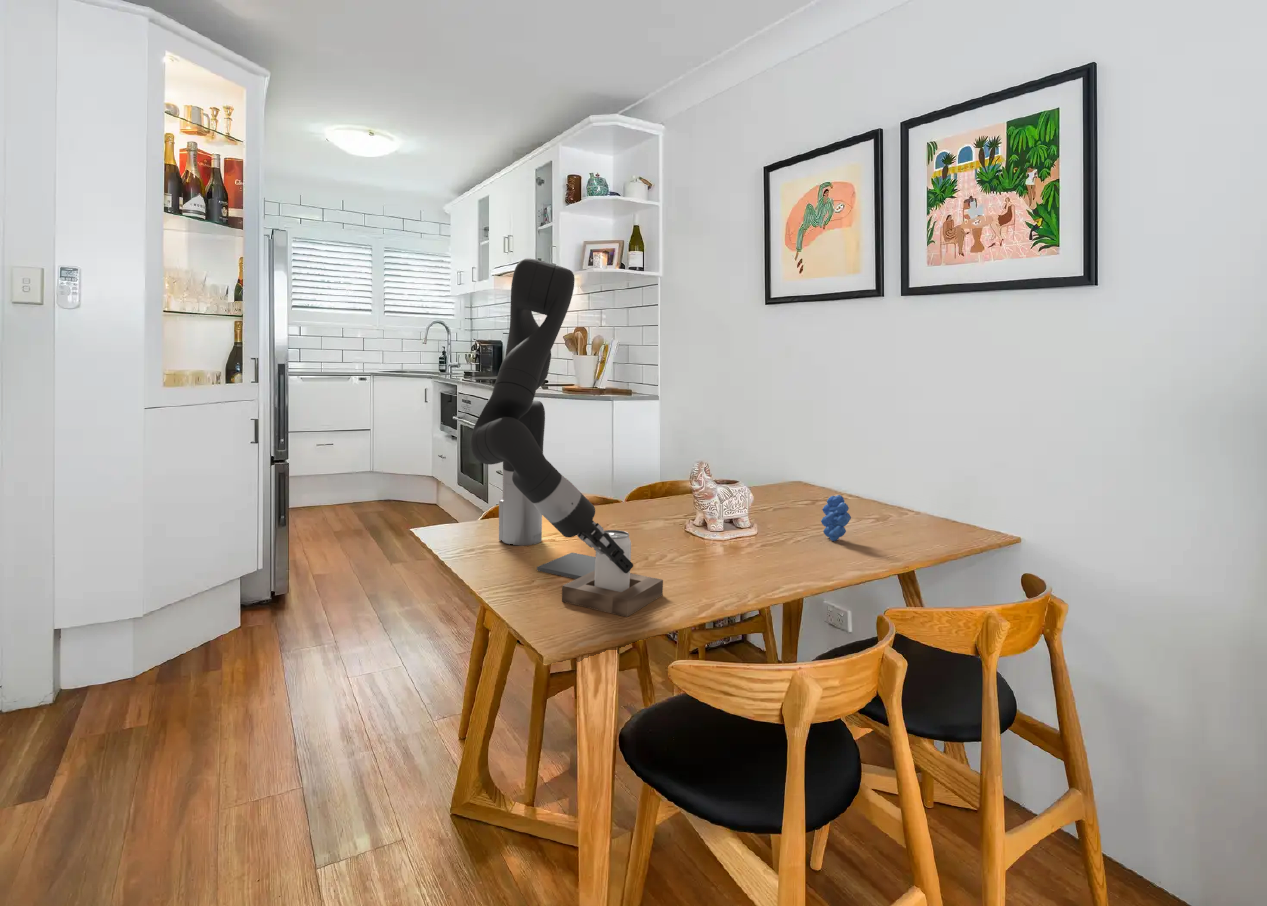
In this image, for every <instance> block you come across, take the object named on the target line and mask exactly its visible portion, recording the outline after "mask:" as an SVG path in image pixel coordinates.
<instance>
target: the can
mask: <svg viewBox="0 0 1267 906" xmlns="http://www.w3.org/2000/svg"><path fill="white" fill-rule="evenodd" d="M604 531H605V532H606V533H608V534H609V536H610V537H611V538H612V539H613V540H614V542H615V543H616V544H617V545H618V546H619V547H620V548H621V549H623V550H624V552H625V553H624V555H625V556H626V557H627V558H628V559H629V560H630V561H631V557H632V556H631V555H632V541H631V539H630V532H627V531H624V530H618V529H607V530H606V529H605V530H604ZM599 549H601V548H600V547H599ZM614 551H615V549H614V550H613V551H612V553H613V552H614ZM612 553H611V554H612ZM595 557H596V559H595V587H600V588H604V589H609V590H613V591H618V592H623V591H624V590H626V589H628V588H629V584H630V573H631V570H630V571H629V572H628V573H624V572H623V571H622V570H621V569H620V568H619V567H618V566H617V565H616V564H615V563H614V562H612V561H610V560H609V558H608V557H607V556H606V555H605V554H599V553H598V552H597V551H595ZM631 562H632V561H631Z"/></svg>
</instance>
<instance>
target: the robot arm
mask: <svg viewBox="0 0 1267 906" xmlns="http://www.w3.org/2000/svg"><path fill="white" fill-rule="evenodd" d="M575 280H576V279H575V274H574V272H573V271H572V270H570V269H569V268H566V267H563V266H561V265H556V264H553V263H549V262H546V261H543V260H538V259H535V258H529V257H524V258H522V259H520V260H519V261H518V262H517V264H516V266H515V268H514V271H513V275H512V279H511V287H510V309H509V311H510V315H509V316H510V317H509V330H508V338H507V344H506V347H505V348H506V350H505V357H504V358H503V361H502V362H501V365H500V367H499V370H498V373H497V376H496V380H495V382H494V384H493V390H492V393H491V396H490V398H489V399H488V401H487V402H486V404H485V405H484V408H483V409H482V411H481V413H480V415H479V417H478V418H477V420H476V422H475V424H474V426H473V428H472V432H471V436H470V449H471V452H472V454H473V456H474V458H475V459H476V460H477V461H478V462H480V463H481V464H484V465H498V464H500V463H502V499H500V500H499V501H498V540H499V541H501V540H502V542H503V543H504V544H507V545H510V544H513V545H512V546H532V544H533V545H537V544H539V543H542V540H543V537H542V536H543V533H542V532H543V517H544V518H545V519H546V520H547V521H548V522H549V523H550V524H551V525H552V526H553V527H554V528H555V530H557V531H558V532H559V533H560V534H562V536H563V537H565V538H574V537H575V536H577V537H578V539H579V540H580V541H583V542H584V543H585V545H587V546H588V547H589V548H593V550H594V551H595V552H596V551H597V552H598V553H599V554H605V555H606V556H607V557H608V558H609V560H610V561H612V562H614V563H615V564H616V565H617V566H618V567H619V568H620V569H621V570H622V571H623V572H624V573H628V572H629V571H630V572H631V569H632V568H633V567H634V564H633V562H632V561H630V560H629V559H628V558H627V557H626V556H625V555H624V553H625V552H624V550H623V549H621V548H620V547H619V546H618V545H617V544H616V543H615V542H614V540H613V539H612V538H611V537H610V536H609V534H608V533H606V532H605V530H604V527H602V525H601V524H599V523H598V522H596V521H595V520H593V519H594V517H595V516H596V515H595V514H596V508H595V505H594V504H592V502H591V501H590V500H589V499H588V498H586V496H585V495H584V494H583V493H582V492H581V491H580V490H579V489H578V488H577V486H576V485H574V484H573V483H572V482H571V480H569V479H567V478H566V477H565V476H563V474H562V473H560V471H558V470H557V468H555V467H554V466H553V464H552V463H551V462H550V461H548V459H546V457H545V455H544V438H545V425H546V424H545V423H546V410H545V406H544V404H543V402H542V401H540V400H534V399H535V395H536V391H537V390H538V389H540V387H541V386H542V385H543V384H544V383H545V381H546V379H547V378H548V375H549V371H550V365H551V359H552V348H553V346H554V344H555V342H556V340H557V338H558V335H559V332H560V330H561V327H562V325H563V323H564V320H565V318H566V315H567V313H568V311H569V308H570V306H571V305H570V304H571V301H572V298H573V294H574V289H575ZM533 313H537V314H541V315H544V316H545V319H544V320H543V322H542V323H541V325H540V326H539V325H538V322H537V321H536V320H535V317H534V315H533ZM599 547H600V548H601V549H599ZM614 549H615V551H614V552H613V553H612V551H613V550H614ZM611 553H612V554H611Z"/></svg>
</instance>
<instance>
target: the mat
mask: <svg viewBox="0 0 1267 906" xmlns="http://www.w3.org/2000/svg"><path fill="white" fill-rule="evenodd" d="M595 559H596V556H592V555H588V554H587V555H586V554H581V553H577V552H570V553H567V554H565V555H562V556H560V557H558V558H555V559H552V560H550V561H547V562H545V563H543V564H540V565H538V566H536V571H537V570H538V572H541V571H542V572H541V573H546V574H550V573H551V574H550V575H557V576H560V575H561V576H560V577H565V578H570V579H573V580H575V579H578V578H580V577H582V576H584V575H586V574H588V573H590V572H592V571H595Z"/></svg>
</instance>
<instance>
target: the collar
mask: <svg viewBox="0 0 1267 906" xmlns="http://www.w3.org/2000/svg"><path fill="white" fill-rule="evenodd" d="M561 589H562V590H561V602H562V603H567V604H571V605H574V606H579V607H583V608H587V609H588V608H589V609H592V610H596V611H600V612H605V613H609V614H614V615H618V616H623V617H626V618H627V617H629V616H631V615H632V614H634V613H636V612H638V611H639V610H641V609H642V608H644V607H645V606H647V605H649V604H651V603H652V602H654V601H656V600H657V599H659V598H661V597H662V596H663V594H664V593H663V590H664V580H663V579H661V578H656V577H651V576H647V575H641V574H636V573H632V572H630V584H629V588H628V589H626V590H624V591H623V592H618V591H613V590H609V589H604V588H600V587H595V571H592V572H590V573H588V574H586V575H584V576H582V577H580V578H578V579H573V580H571V581H569V582H567V583H565V584H563V585H561Z"/></svg>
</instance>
